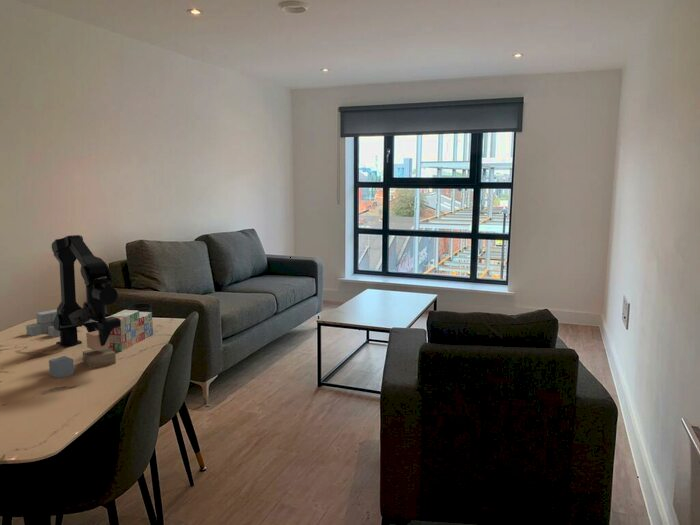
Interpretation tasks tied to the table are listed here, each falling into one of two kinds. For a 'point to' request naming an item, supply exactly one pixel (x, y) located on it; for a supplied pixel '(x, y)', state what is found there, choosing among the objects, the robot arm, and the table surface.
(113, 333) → the stack of blocks
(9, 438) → the table surface
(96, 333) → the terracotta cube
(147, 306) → the pen holder
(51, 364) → the slate cube
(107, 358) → the taupe faceted block
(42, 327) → the pale blue stepped block
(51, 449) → the table surface
